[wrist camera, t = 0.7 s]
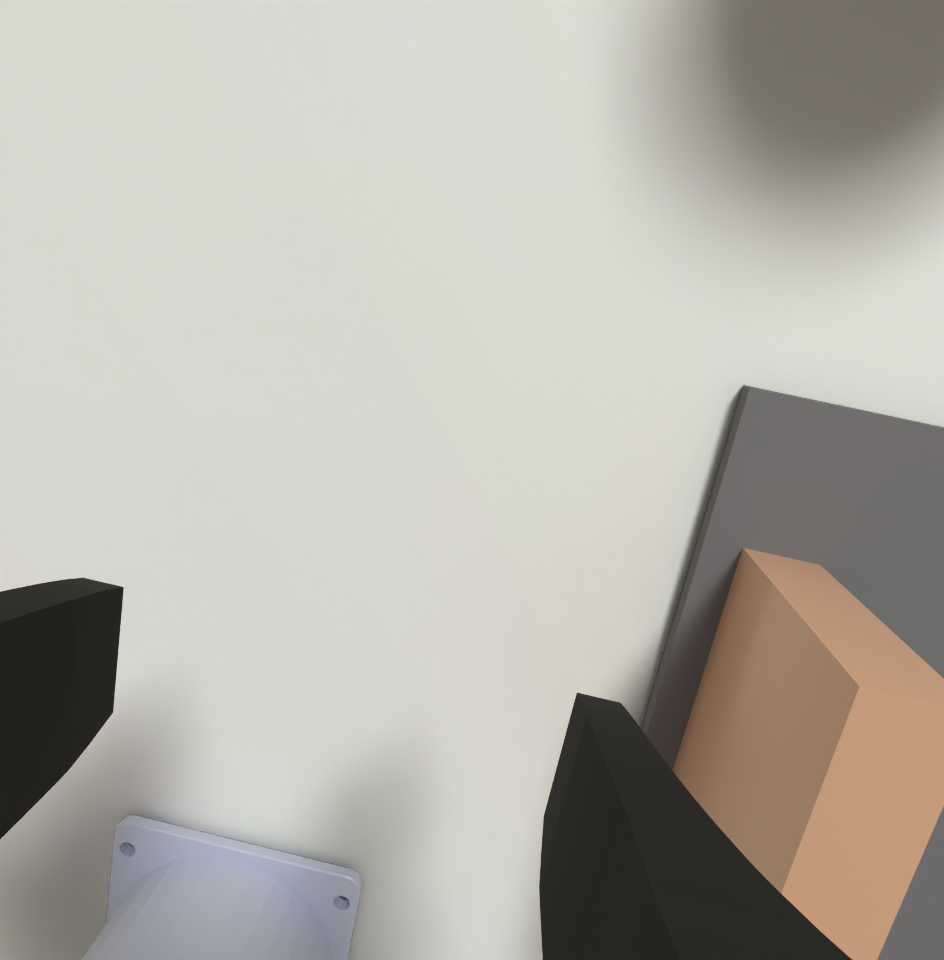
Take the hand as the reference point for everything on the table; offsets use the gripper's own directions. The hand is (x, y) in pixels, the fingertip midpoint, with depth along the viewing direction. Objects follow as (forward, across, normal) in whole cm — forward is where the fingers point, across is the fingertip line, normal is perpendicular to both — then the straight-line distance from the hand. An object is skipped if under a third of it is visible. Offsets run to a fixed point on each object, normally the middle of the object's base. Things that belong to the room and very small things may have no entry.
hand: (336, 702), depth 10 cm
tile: (+9, -9, +3) cm, 13 cm away
